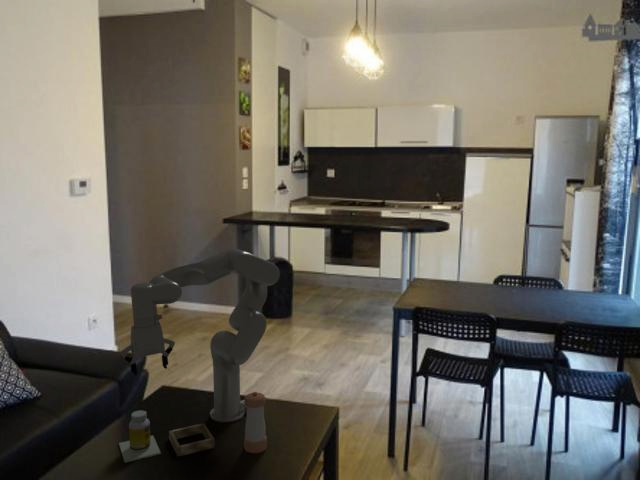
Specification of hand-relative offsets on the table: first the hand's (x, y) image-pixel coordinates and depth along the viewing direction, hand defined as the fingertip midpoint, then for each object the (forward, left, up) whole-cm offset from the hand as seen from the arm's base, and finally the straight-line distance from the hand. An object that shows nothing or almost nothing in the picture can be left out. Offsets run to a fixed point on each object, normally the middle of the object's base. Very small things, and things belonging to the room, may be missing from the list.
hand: (150, 370), depth 181 cm
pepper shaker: (-29, +21, -24) cm, 43 cm away
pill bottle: (+5, +5, -24) cm, 25 cm away
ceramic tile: (+5, +5, -24) cm, 25 cm away
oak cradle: (-11, +9, -24) cm, 28 cm away
